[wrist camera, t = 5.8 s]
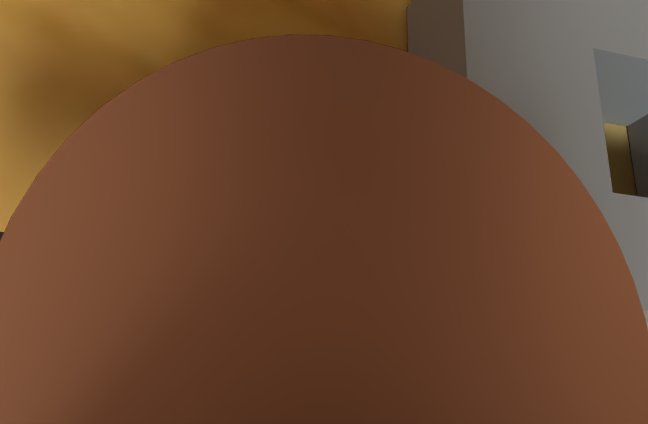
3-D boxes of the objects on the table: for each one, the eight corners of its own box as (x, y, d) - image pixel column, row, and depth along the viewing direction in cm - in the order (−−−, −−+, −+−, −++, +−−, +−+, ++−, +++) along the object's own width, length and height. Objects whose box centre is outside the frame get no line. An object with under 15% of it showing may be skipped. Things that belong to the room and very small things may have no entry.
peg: (59, 533, 13) (-158, 873, 3) (101, 249, 15) (37, -32, 5) (339, 526, 14) (717, 746, 5) (343, 271, 16) (619, 84, 7)
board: (413, 318, 16) (479, 295, 13) (406, 8, 20) (459, -71, 16) (757, 343, 19) (879, 329, 16) (703, 71, 23) (795, 16, 19)
